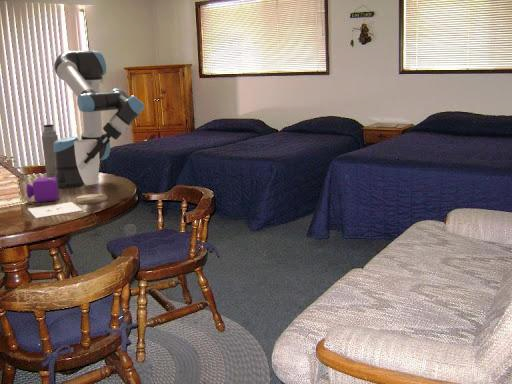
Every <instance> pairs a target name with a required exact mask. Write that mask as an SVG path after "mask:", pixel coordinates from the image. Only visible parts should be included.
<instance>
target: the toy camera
mask: <svg viewBox="0 0 512 384" xmlns="http://www.w3.org/2000/svg"><path fill="white" fill-rule="evenodd" d="M59 189H60V188H58V181H57V178H55V177H50V178H47V177H39V178H36V179H34V181H33V183H32V184H30V183H27V184H26V187H25V193H26V195H27V198H28V199H31V198H32V197H33V196H34V201H35V202H36V203H47V202H56V201H57V200H58V198H59V196H60V190H59Z"/></svg>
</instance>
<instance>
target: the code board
mask: <svg viewBox="0 0 512 384" xmlns="http://www.w3.org/2000/svg"><path fill="white" fill-rule="evenodd" d="M27 210H28V212H29V213H31V215H32V216H33V217H34V218H36V219H40V218H46V217H53V216H59V215H64V214H70V213H71V214H72V213H78V212H83V211H84V210H83V209H82V208H81V207H80V206H78V205H77V204H75V203H74V202H73V201H70V202H64V203H57V204H51V205H43V206H38V207H37V206H36V207H29V208H27Z"/></svg>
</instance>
